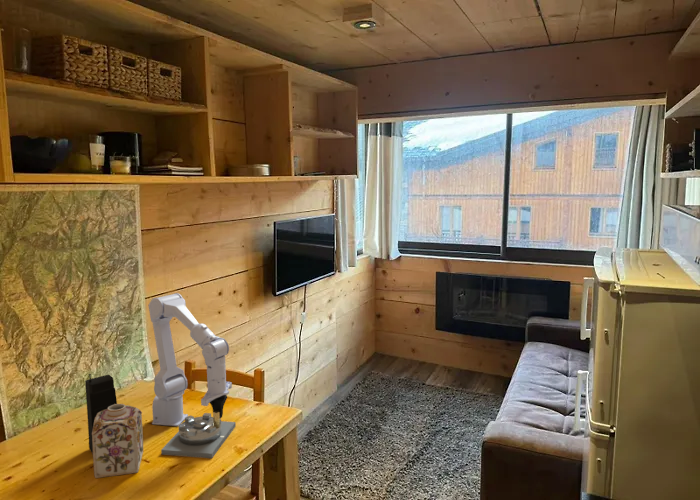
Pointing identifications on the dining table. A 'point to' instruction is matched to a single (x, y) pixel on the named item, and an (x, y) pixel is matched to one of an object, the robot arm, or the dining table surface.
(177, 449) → the base plate
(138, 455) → the decorative jar
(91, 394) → the portable radio
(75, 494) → the dining table surface
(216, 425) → the notched steel disc
